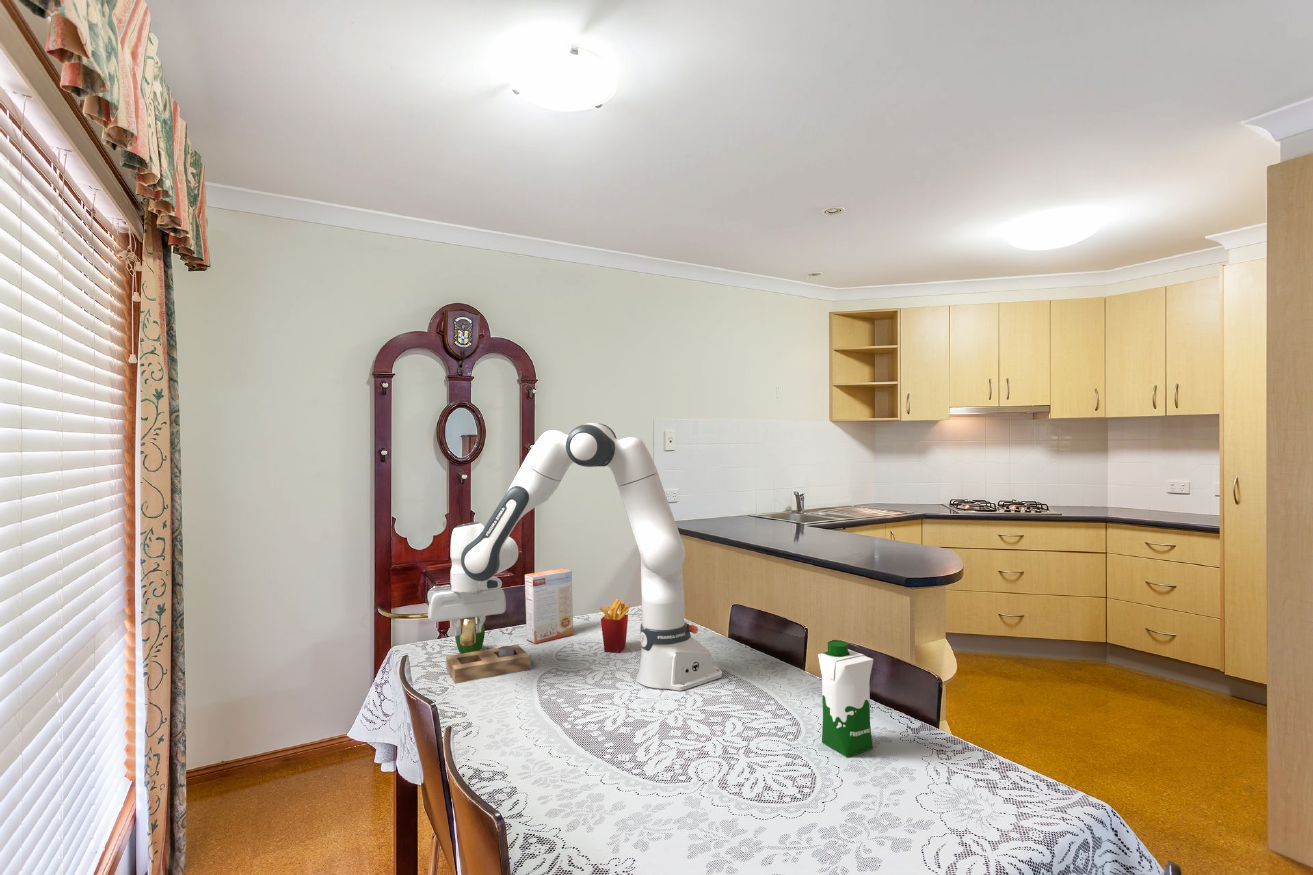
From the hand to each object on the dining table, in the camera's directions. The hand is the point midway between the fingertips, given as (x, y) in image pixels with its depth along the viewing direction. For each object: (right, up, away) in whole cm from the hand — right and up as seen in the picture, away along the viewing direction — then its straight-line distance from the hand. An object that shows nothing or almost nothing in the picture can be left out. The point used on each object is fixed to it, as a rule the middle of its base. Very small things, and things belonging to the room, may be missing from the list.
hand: (467, 633), depth 177 cm
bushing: (0, -3, 0) cm, 3 cm away
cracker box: (+17, -11, +30) cm, 37 cm away
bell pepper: (-4, -11, +17) cm, 21 cm away
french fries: (+40, -10, +18) cm, 45 cm away
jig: (+5, -10, +2) cm, 12 cm away
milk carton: (+89, -9, -46) cm, 101 cm away
